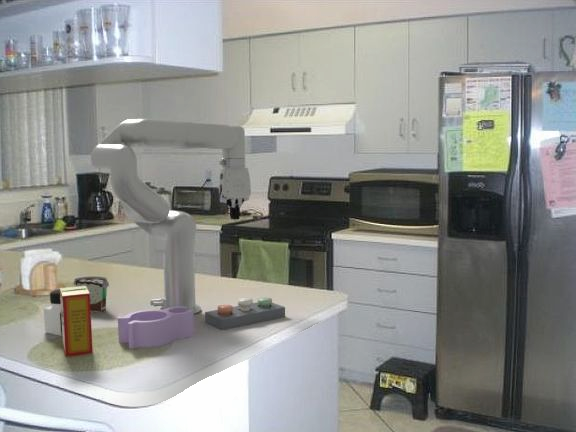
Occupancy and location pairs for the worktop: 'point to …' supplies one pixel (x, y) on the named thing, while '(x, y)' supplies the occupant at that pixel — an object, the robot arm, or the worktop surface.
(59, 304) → the medicine bottle
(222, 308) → the terracotta button
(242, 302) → the ivory button
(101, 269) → the worktop surface
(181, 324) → the clip
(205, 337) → the worktop surface
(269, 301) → the sage button
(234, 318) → the button panel
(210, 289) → the worktop surface
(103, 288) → the food container
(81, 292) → the baking soda box
